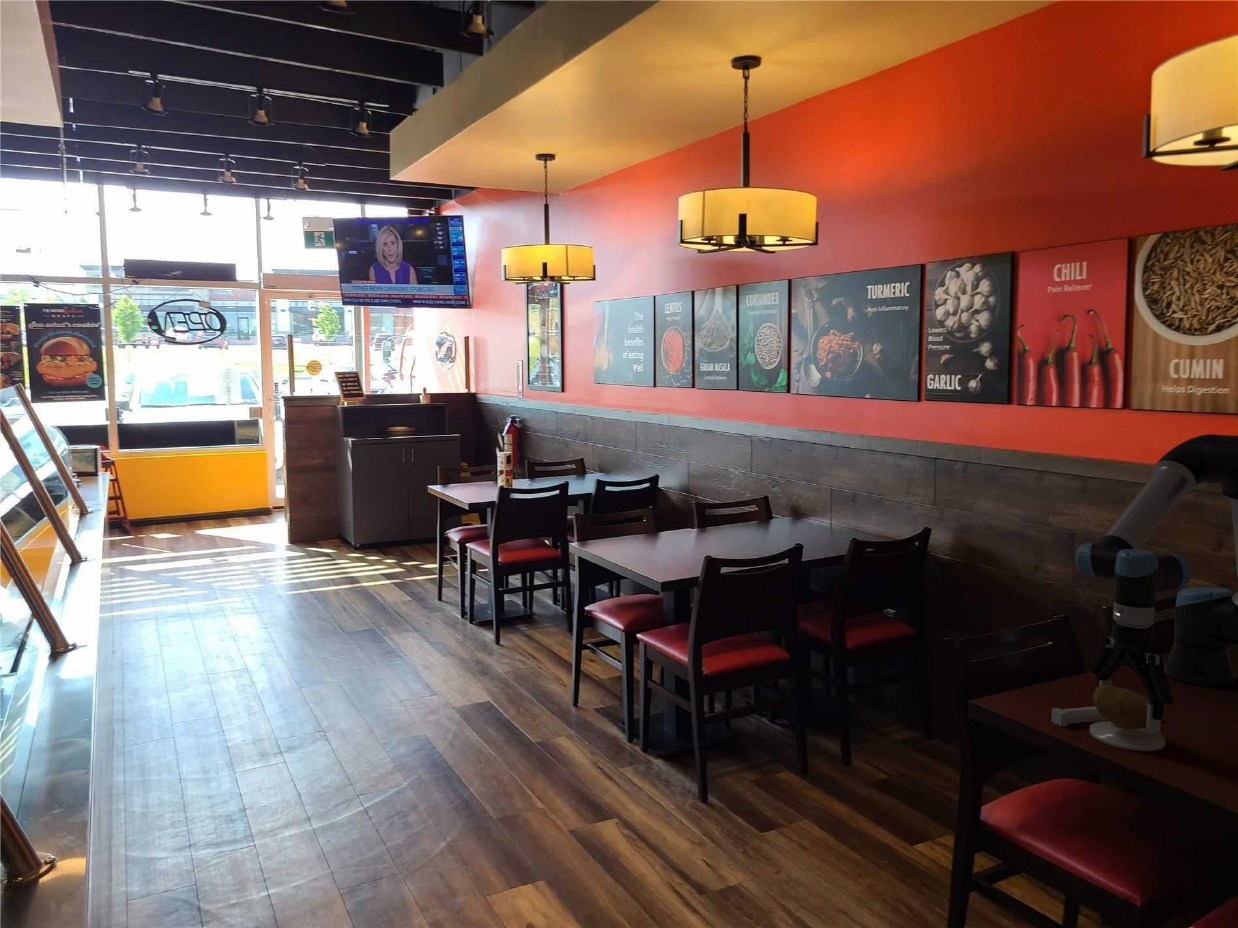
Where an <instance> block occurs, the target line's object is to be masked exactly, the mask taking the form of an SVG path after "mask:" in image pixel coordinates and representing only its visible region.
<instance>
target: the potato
mask: <svg viewBox="0 0 1238 928" xmlns="http://www.w3.org/2000/svg"><path fill="white" fill-rule="evenodd" d="M1093 691H1094V692H1093V694H1092V697H1091V698H1092V704H1093V705H1094V707H1096V709H1097V711H1098V712H1099V713H1100V714H1101V715H1102V716H1103V717H1104V718H1106V719H1107V720H1108V721H1110V722H1111V723H1113V724H1115V725H1117V726H1119V727H1122V728H1126V729H1140V728H1144V729H1145V728H1146V720H1147V703H1148V702H1151V700H1150V698H1149V696H1148V694H1143V693H1141V692H1138V691H1135V690H1132V689H1128V688H1123V687H1118V686H1114V685H1112V686H1109V685H1103V686H1099V687H1097V686H1096V688H1095V689H1094V690H1093ZM1167 713H1168V710H1167V706H1166V704H1164V708H1163V718H1162V720H1161V723H1162V722H1163V721H1164V720H1165V717H1166V715H1167Z"/></svg>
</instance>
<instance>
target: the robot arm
mask: <svg viewBox="0 0 1238 928" xmlns="http://www.w3.org/2000/svg"><path fill="white" fill-rule="evenodd" d="M1153 466H1154V467H1152V476H1151V477H1150V478H1149V480H1148V481H1146V483H1145V484H1144V485H1143V487H1142V488H1141V490H1139V492H1138V493H1137V494H1136V496H1135V497H1134V498H1133V500H1132V501H1131V502H1130V503H1129V504H1128V505H1127V507H1126V509H1125V510H1124V511H1122V512H1121V514H1120V516H1119V517H1117V519H1116V520H1115V522H1114V523H1113V524H1112V526H1110V528H1109V529H1108V530H1107V532H1106V533H1105V534H1104V535H1103V537H1102V538H1100V539H1099V541H1098V543H1096V542H1085V543H1084V544H1083V543H1082V544H1081V545H1080V546H1079V547H1078V549H1077V551H1076V554H1075V565H1076V569H1077V570H1078V571H1079V572H1080V573H1081V574H1082V575H1083V574H1084V575H1086V576H1088V577H1089V576H1090V577H1092V578H1093V577H1094V578H1097V579H1104V580H1110V581H1114V597H1113V598H1114V599H1113V614H1112V620H1114V621H1113V623H1112V628H1111V636H1106V637H1102V643H1101V648H1100V649H1099V651H1098V654H1097V656H1096V657H1095V659H1094V661H1093V663H1092V665H1091V667H1090V673H1091V674H1092V675H1093V674H1094V675H1095V677H1096V679H1097V685H1096V688H1097V687H1099V686H1103V685H1109V686H1113V680H1112V678H1113V677H1112V675H1113V674H1115V673H1116V672H1117V671H1118V669H1119V668H1120V667H1122V665H1123V666H1127V667H1128V668H1129V669H1131V670H1132V669H1133V671H1134V673H1135V674H1137V675H1138V677H1139V679H1140V681H1141V685H1142V686H1143V687H1144V690H1145V692H1146V695H1147V696H1149V698H1150V700H1151V702H1148V703H1147V720H1146V733H1147V734H1161V724H1162V722H1161V720H1162V718H1163V708H1164V705H1172V704H1174V698H1173V695H1172V692H1171V689H1170V688H1171V687H1170V685H1169V682H1168V679H1167V676H1168V677H1170V678H1172V679H1175V680H1178V681H1181V682H1184V683H1188V684H1191V685H1192V684H1193V685H1197V686H1198V685H1199V686H1204V687H1216V688H1217V687H1220V688H1221V687H1229V686H1233V685H1234V684H1235V683H1236V682H1235V681H1236V672H1235V670H1234V669H1233V664H1232V660H1231V657H1230V652H1229V645H1230V646H1235V647H1238V591H1237V592H1235V593H1234V594H1233V592H1232V590H1231V589H1228V588H1225V587H1224V588H1223V587H1212V586H1196V587H1195V586H1194V587H1193V586H1192V587H1186V588H1182V589H1181V590H1179V591H1178V592H1177V596H1176V601H1175V602H1176V603H1175V605H1174V607H1175V617H1174V618H1175V619H1174V635H1173V636H1174V638H1173V645H1172V647H1171V649H1170V651H1169V655H1168V656H1167V659H1166V660H1165V662H1163V661H1164V659H1163V655H1162V654H1160V653H1159V654H1153V653H1151V651H1150V646H1151V645H1152V644H1153V643H1154V632H1155V631H1154V630H1155V627H1153V625H1154V624H1155V617H1156V614H1155V613H1156V612H1155V611H1156V597H1157V594H1156V593H1160V592H1161V593H1162V592H1166V591H1174V590H1177V589H1179V588H1181V587H1184V586H1186V585H1187V584H1188V583H1189V582H1190V581H1191V579H1192V577H1193V576H1192V575H1193V568H1192V567H1191V563H1189V561H1188V560H1187V559H1186V558H1185V557H1183V556H1182V555H1180V554H1177V553H1176V554H1175V553H1163V554H1157V553H1155V552H1153V551H1150V550H1147V549H1141V548H1142V547H1143V546H1144V544H1145V543H1146V542H1147V541H1148V539H1149V538H1150V536H1152V534H1153V533H1154V532H1155V530H1156V529H1157V527H1159V526H1160V524H1161V523H1162V521H1163V520H1164V519H1165V517H1167V515H1168V514H1169V513H1170V512H1171V510H1172V509H1173V508H1174V507H1175V505H1176V504H1177V502H1178V501H1179V500H1180V499H1181V497H1182V496H1183V495H1184V494H1185V493H1189V492H1192V491H1193V490H1194V489H1195V488H1196V486H1197V485H1200V484H1204V483H1205V484H1206V483H1207V484H1208V483H1209V484H1215V485H1221V492H1222V496H1223V498H1226V499H1227V500H1229V501H1230V506H1231V517H1232V528H1233V530H1232V531H1233V540H1234V550H1235V562H1236V572H1237V573H1236V575H1237V577H1238V435H1232V434H1231V435H1228V434H1218V433H1217V434H1216V433H1214V434H1213V433H1210V434H1209V433H1208V434H1206V433H1205V434H1201V435H1198V436H1194V437H1192V438H1189V439H1187V440H1184V441H1183V442H1181V443H1179V444H1178V445H1176V446H1174V447H1173V448H1171V449H1170V450H1169V451H1168V452H1166V453H1165V454H1163V456H1162V457H1161V458H1160V459H1159V460H1158V461H1157V462H1156V464H1155V465H1153ZM1163 663H1164V664H1163ZM1166 675H1167V676H1166ZM1234 682H1235V683H1234ZM1233 683H1234V684H1233Z"/></svg>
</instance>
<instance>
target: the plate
mask: <svg viewBox="0 0 1238 928" xmlns="http://www.w3.org/2000/svg"><path fill="white" fill-rule="evenodd" d="M1089 734H1090V736H1092V737H1093V738H1094V739H1095V740H1097V741H1098V742H1101V743H1103V744H1106V745H1108V746H1111V747H1113V748H1118V749H1122V750H1126V751H1131V752H1133V751H1135V752H1157V751H1161V750H1163V749H1164V748H1166V739H1165V737H1164V736H1163V735H1162V734H1161V733H1159V734H1147V733H1146V728H1145V729H1144V728H1140V729H1126V728H1122V727H1119V726H1117V725H1115V724H1113V723H1111V722H1110V721H1098V722H1093V723H1092V724H1091V725H1090V726H1089Z"/></svg>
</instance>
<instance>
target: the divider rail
mask: <svg viewBox="0 0 1238 928" xmlns="http://www.w3.org/2000/svg"><path fill="white" fill-rule="evenodd" d="M1050 720H1051V721H1052V722H1051V723H1053V722H1054V723H1053V724H1055V725H1057V724H1058V725H1059V727H1060V726H1063V727H1067V726H1068V725H1075V723H1076V724H1082V723H1081V722H1087V723H1096V722H1102V721H1108V720H1107V719H1106V718H1104V717H1103V716H1102V715H1101V714H1100V713H1099V712H1098V711H1097V709H1096V707H1095V706H1087V707H1076V708H1075V707H1074V708H1065V709H1061V708H1059V707H1055V708H1053V707H1052V708H1051V718H1050ZM1058 725H1057V726H1058Z"/></svg>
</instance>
